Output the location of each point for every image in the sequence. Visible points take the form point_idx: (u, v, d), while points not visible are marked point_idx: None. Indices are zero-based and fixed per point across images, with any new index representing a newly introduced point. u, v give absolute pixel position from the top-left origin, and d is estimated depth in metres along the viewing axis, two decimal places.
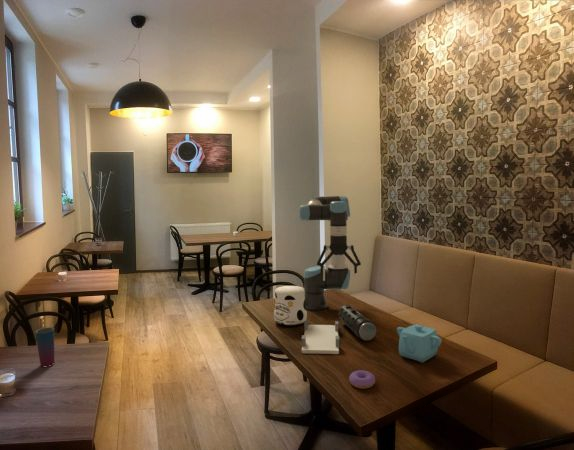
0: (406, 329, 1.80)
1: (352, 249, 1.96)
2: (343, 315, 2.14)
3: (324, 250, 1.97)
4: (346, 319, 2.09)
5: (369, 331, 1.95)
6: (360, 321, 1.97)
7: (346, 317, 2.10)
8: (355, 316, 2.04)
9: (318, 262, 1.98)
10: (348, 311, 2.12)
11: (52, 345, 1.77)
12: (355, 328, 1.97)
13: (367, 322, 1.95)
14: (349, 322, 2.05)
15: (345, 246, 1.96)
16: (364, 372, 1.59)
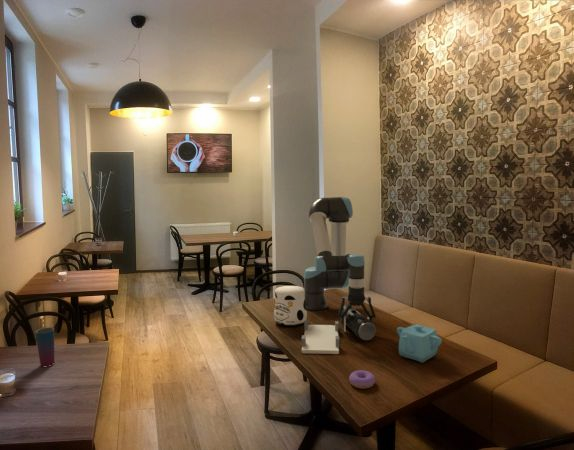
0: (406, 329, 1.80)
1: (369, 301, 2.05)
2: None
3: (343, 302, 2.06)
4: (346, 319, 2.09)
5: (368, 331, 1.95)
6: (359, 321, 1.97)
7: (346, 317, 2.10)
8: (355, 316, 2.04)
9: (339, 314, 2.07)
10: (348, 311, 2.12)
11: (52, 345, 1.77)
12: (354, 328, 1.97)
13: (366, 322, 1.95)
14: (349, 322, 2.05)
15: (363, 297, 2.05)
16: (364, 372, 1.59)
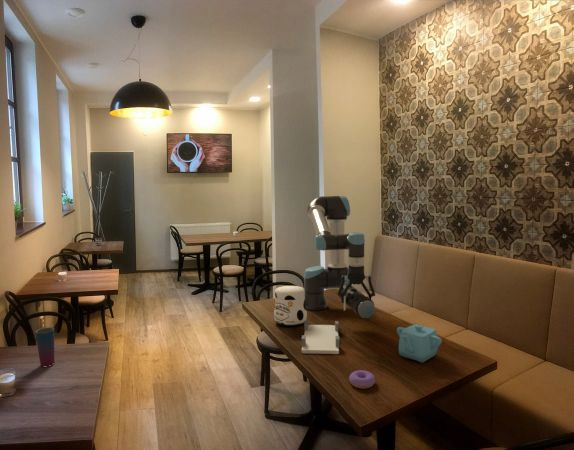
0: (406, 329, 1.80)
1: (369, 280, 2.04)
2: None
3: (343, 280, 2.05)
4: (346, 298, 2.08)
5: (367, 309, 1.94)
6: (359, 299, 1.96)
7: (346, 296, 2.09)
8: (354, 294, 2.03)
9: (339, 292, 2.06)
10: (348, 290, 2.11)
11: (52, 345, 1.77)
12: (354, 306, 1.96)
13: (366, 300, 1.94)
14: (348, 300, 2.04)
15: (363, 276, 2.04)
16: (364, 372, 1.59)
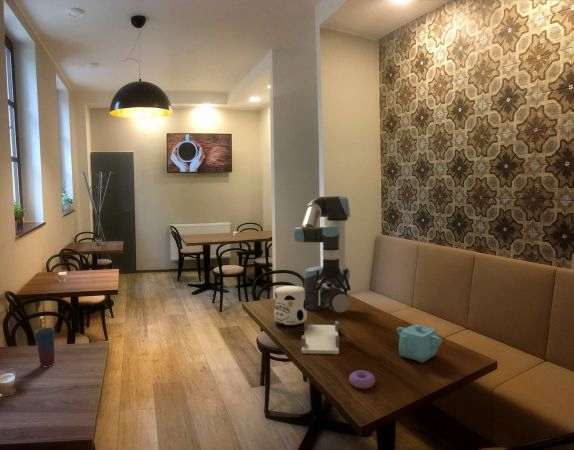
0: (406, 329, 1.80)
1: (344, 273, 1.98)
2: None
3: (317, 274, 1.99)
4: (321, 292, 2.02)
5: (342, 302, 1.87)
6: (333, 292, 1.89)
7: (321, 290, 2.02)
8: (329, 288, 1.96)
9: (313, 287, 2.00)
10: (323, 284, 2.05)
11: (52, 345, 1.77)
12: (328, 300, 1.89)
13: (340, 293, 1.87)
14: (323, 295, 1.98)
15: (338, 269, 1.98)
16: (364, 372, 1.59)
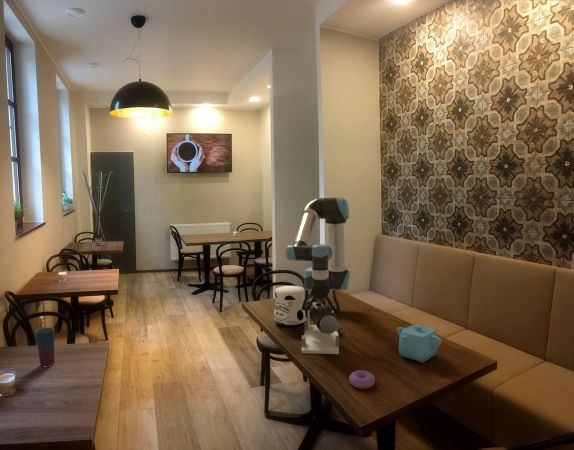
0: (406, 329, 1.80)
1: (333, 294, 1.96)
2: None
3: (306, 294, 1.98)
4: (310, 312, 2.00)
5: (330, 324, 1.86)
6: (321, 314, 1.88)
7: (310, 310, 2.01)
8: (318, 309, 1.95)
9: (302, 307, 1.98)
10: (313, 304, 2.03)
11: (52, 345, 1.77)
12: (316, 321, 1.88)
13: (328, 315, 1.86)
14: (312, 315, 1.96)
15: (327, 289, 1.97)
16: (364, 372, 1.59)
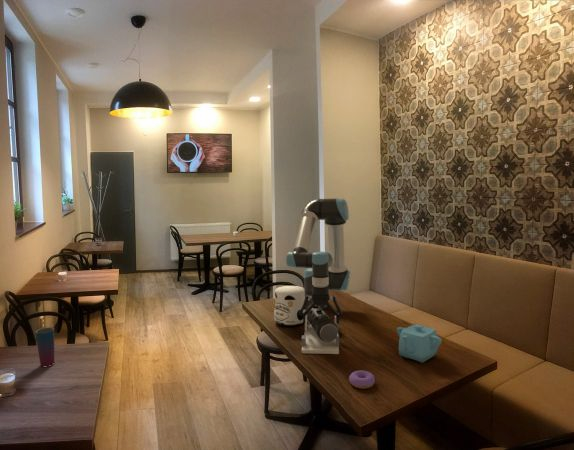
0: (406, 329, 1.80)
1: (334, 300, 1.97)
2: (308, 314, 2.05)
3: (306, 300, 1.98)
4: (310, 319, 2.01)
5: (330, 332, 1.86)
6: (322, 321, 1.88)
7: (311, 317, 2.01)
8: (319, 316, 1.96)
9: (300, 312, 1.99)
10: (313, 311, 2.04)
11: (52, 345, 1.77)
12: (316, 329, 1.89)
13: (328, 323, 1.86)
14: (312, 322, 1.97)
15: (327, 297, 1.97)
16: (364, 372, 1.59)
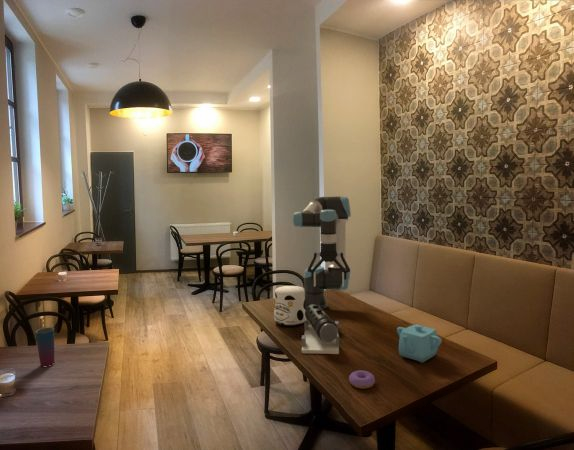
0: (406, 329, 1.80)
1: (341, 256, 2.02)
2: (308, 314, 2.05)
3: (314, 257, 2.03)
4: (310, 319, 2.01)
5: (330, 332, 1.86)
6: (322, 321, 1.88)
7: (311, 317, 2.01)
8: (319, 316, 1.96)
9: (309, 269, 2.05)
10: (313, 311, 2.04)
11: (52, 345, 1.77)
12: (316, 329, 1.89)
13: (329, 323, 1.86)
14: (312, 322, 1.97)
15: (335, 253, 2.02)
16: (364, 372, 1.59)
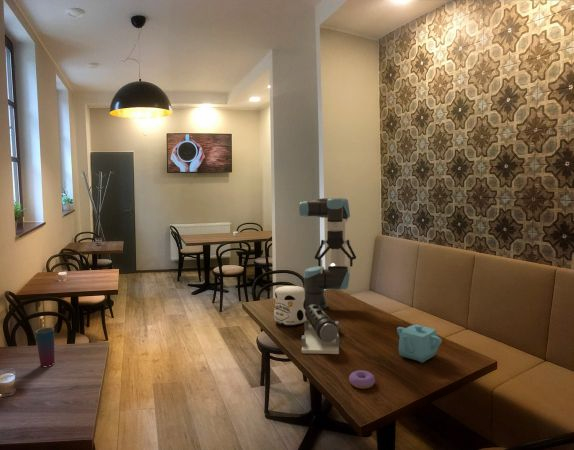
0: (406, 329, 1.80)
1: (348, 243, 2.07)
2: (308, 314, 2.05)
3: (321, 244, 2.09)
4: (310, 319, 2.01)
5: (330, 332, 1.86)
6: (322, 321, 1.88)
7: (311, 317, 2.01)
8: (319, 316, 1.96)
9: (316, 256, 2.09)
10: (313, 311, 2.04)
11: (52, 345, 1.77)
12: (316, 329, 1.89)
13: (328, 323, 1.86)
14: (312, 322, 1.97)
15: (341, 241, 2.07)
16: (364, 372, 1.59)
